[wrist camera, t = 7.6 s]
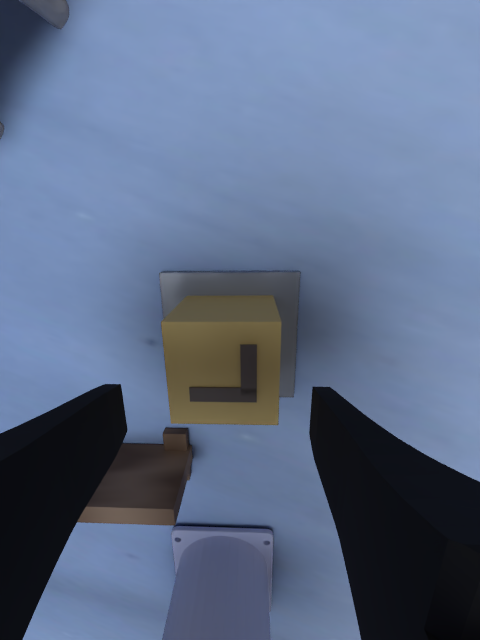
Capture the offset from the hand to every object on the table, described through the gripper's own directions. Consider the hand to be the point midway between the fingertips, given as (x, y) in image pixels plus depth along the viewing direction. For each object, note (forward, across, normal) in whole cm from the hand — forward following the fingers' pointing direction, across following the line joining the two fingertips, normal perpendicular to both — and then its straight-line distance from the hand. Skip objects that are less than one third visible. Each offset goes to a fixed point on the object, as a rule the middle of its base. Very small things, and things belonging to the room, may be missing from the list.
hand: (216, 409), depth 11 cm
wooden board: (+8, +9, +9) cm, 15 cm away
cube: (+7, 0, 0) cm, 7 cm away
